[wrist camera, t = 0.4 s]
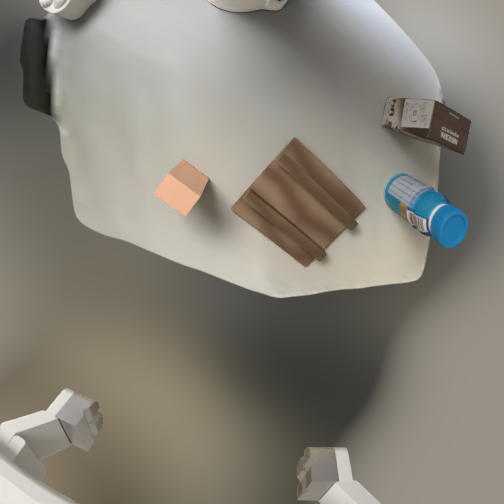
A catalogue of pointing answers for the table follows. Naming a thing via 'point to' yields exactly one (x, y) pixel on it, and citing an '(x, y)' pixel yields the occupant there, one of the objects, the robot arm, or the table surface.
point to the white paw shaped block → (67, 7)
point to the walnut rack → (299, 204)
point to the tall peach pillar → (182, 187)
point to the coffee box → (427, 122)
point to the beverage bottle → (426, 210)
